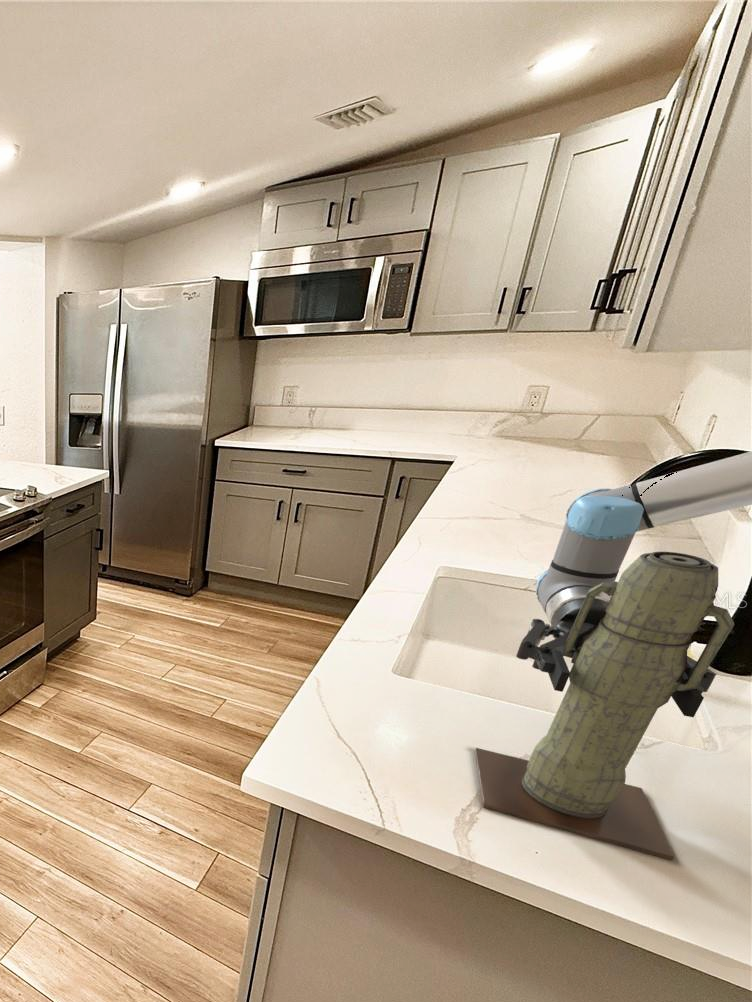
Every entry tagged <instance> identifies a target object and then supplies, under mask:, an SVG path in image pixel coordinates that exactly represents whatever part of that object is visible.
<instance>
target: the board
mask: <svg viewBox="0 0 752 1002" xmlns="http://www.w3.org/2000/svg"><path fill="white" fill-rule="evenodd" d="M474 756H475V763H476V769H477V775H478V776H477V777H478V782H479V789H480V795H481V803H482V807H483V808H486V809H489V810H493V811H496V812H500V813H503V814H506V815H510V816H513V817H518V818H521V819H523V820H524V819H525V820H527V821H532V822H535V823H539V824H541V825H542V824H543V825H546V826H549V827H552V828H557V829H559V830H564V831H567V832H571V833H574V834H578V835H581V836H585V837H587V838H592V839H595V840H598V841H603V842H605V843H606V842H607V843H609V844H612V845H616V846H620V847H624V848H627V849H631V850H635V851H638V852H642V853H645V854H649V855H652V856H656V857H659V858H663V859H666V860H669V861H673V860H674V859H675V855H674V853H673V851H672V849H671V846H670V844H669V842H668V841H667V837H666V836H665V834H664V831H663V830H662V828H661V826H660V823H659V821H658V819H657V817H656V815H655V813H654V810H653V808H652V806H651V805H650V802H649V800H648V799H647V797H646V796H647V795H646V794H645V792H644V790H643V788H642V787H639V786H635V785H631V784H628V783H627V784H626V783H624V785H623V787H622V789H621V791H620V793H619V794H618V796H617V798H616V799H615V800H614V801H612V802H611V803H610V805H609V807H608V811H607V813H606V814H605V815H603V816H602V817H598V818H580V817H576V816H572V815H568V814H564V813H562V812H559V811H557V810H554V809H552V808H550V807H548V806H546V805H544V804H542V803H540V802H539V801H537V800H536V799H534V798H533V797H532V796H530V795H529V794H528V792H527V791H526V790H525V789H524V788H523V785H522V783H521V782H522V779H523V776H524V774H526V772H527V764H528V762H529V760H528V759H524V758H520V757H517V756H511V755H508V754H503V753H498V752H495V751H491V750H487V749H483V748H479V747H475V748H474Z"/></svg>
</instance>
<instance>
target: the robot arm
mask: <svg viewBox="0 0 752 1002" xmlns="http://www.w3.org/2000/svg"><path fill="white" fill-rule="evenodd" d="M676 472H677V473H676ZM673 473H674V474H672V475H670V476H668V477H665V476H666V475H668V474H669V473H667V474H664V475H661V476H657V477H654V478H650V479H645V480H643V481H639V482H635V483H632V484H633V485H632V484H628V485H624V486H620V487H616V488H597V489H592V490H589V491H586V492H585V493H582V494H581V495H579V496H578V497H577V498H576V499H575V500H573V502H572V503H571V504H570V505H569V507H568V509H567V512H566V517H565V518H566V519H565V522H564V524H563V525H564V526H563V528H562V533H561V535H560V538H559V541H558V544H557V547H556V549H555V552H554V555H553V558H552V560H551V563H550V564H549V567H548V569H547V570H546V571H544V572H543V573H542V574H541V575H540V576H539V577H538V579H537V581H536V586H535V590H536V591H535V594H536V596H537V600H538V603H539V604H540V605H541V608H542V609H543V612H544V614H545V616H546V617H547V620H548V622H549V623H545V621H544V620H542V619H540V618H532V621H531V623H530V626H529V629H528V630H527V634H525V636H524V637H523V638H522V639H521V642H520V644H519V647H518V649H517V653H516V655H515V657H516V658H518V659H519V660H525V661H527V660H528V659H532V660H533V662H532V667H531V668H533V669H535V670H538V671H540V672H543V673H547V674H548V677H549V679H550V682H551V685H552V687H553V690H554V691H556V692H564V689H565V687H566V685H567V683H568V681H569V675H570V669H569V667H568V665H567V662H566V660H565V658H564V657H565V656H563V655H562V654H563V650H564V647H565V644H566V642H567V639H568V636H569V634H570V632H571V629H572V627H573V625H574V623H575V620H576V618H577V616H578V613H579V611H580V609H581V607H582V604H583V602H584V600H585V598H586V595H587V593H588V591H589V589H591V588H593V587H595V586H597V585H599V584H601V583H603V582H607V583H613V584H614V582H616V579H617V578H618V574H619V572H620V568H621V566H622V564H623V562H624V560H625V558H626V556H627V553H628V551H629V549H630V547H631V544H632V542H633V540H634V537H635V535H636V533H637V532H641V531H645V530H649V529H654V528H656V527H661V526H667V525H670V524H673V523H678V522H683V521H687V520H691V519H696V518H701V517H704V516H709V515H714V514H717V513H721V512H722V513H723V512H727V511H730V510H731V511H732V510H735V509H739V508H743V507H748V506H752V450H751V451H747V452H743V453H741V454H737V455H733V456H730V457H725V458H722V459H718V460H714V461H711V462H708V463H703V464H700V465H697V466H692V467H689V468H686V469H681V470H678V471H675V472H673ZM664 477H665V478H664ZM660 479H662V480H660ZM655 482H657V483H656V484H653V483H655ZM652 484H653V486H651V485H652ZM631 485H632V486H631ZM650 486H651V487H650ZM629 487H630V488H629ZM648 487H649V489H647V488H648ZM646 489H647V490H646ZM645 490H646V491H645ZM644 491H645V492H644ZM643 492H644V493H643ZM641 494H642V496H640V495H641ZM622 495H623V496H622ZM636 500H637V501H636ZM611 597H612V596H609V595H608V593H606V592H601V593H599V594H598V595H596V596H595V598H594V600H593V603H592V605H591V607H590V609H589V612H588V614H587V616H586V618H585V621H584V623H583V625H582V627H581V630H580V632H579V634H578V636H577V639H576V641H575V643H574V645H573V648H572V649H575V650H576V649H577V648H579V647H581V646H582V644H583V642H584V639H585V638H586V637H587V636H588V635H589V634H590V633H591V632H593V631H594V630H595V629H596V628H597V627H598V625H599V623H600V620H601V619H603V618H604V617H605V615H606V612H605V611H606V607H607V605H608V603H609V601H610V599H611ZM549 636H552V637H553V638H554V639H552V640H550V641H547V642H545V643H543V644H540V643H541V642H542V641H545V640H546V638H549ZM697 661H698V660H695V659H694V658H692V657H691V656H688V655H687V668H686V670H685V672H684V674H683V679H688V677H689V675H690V674H691V672H692V670H693V668H694V666H695V665H696V663H697ZM716 676H717V673H715V672H714V671H712V670H711V669H709V668H708V669H707V670H706V672H705V674H704V676H703V678H702V680H701V682H700V683H699V685H698V687H697V688H696V689H690V690H685V691H675V692H673V694H672V696H671V697H670V698H671V699H673V702H674V703H675V704H676V706H677V707H678V709H679V711H680V712H681V714H682V716H684V717H689V718H694V717H695V716H696V713H697V712H698V710H699V708H700V707H701V704H702V703H703V701H704V699H705V697H704V696H703V693H707V692H708V691H709V689H710V687H711V685H712V684H713V681H714V679H715V678H716Z"/></svg>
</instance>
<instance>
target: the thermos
mask: <svg viewBox="0 0 752 1002" xmlns="http://www.w3.org/2000/svg"><path fill="white" fill-rule="evenodd" d="M718 587H719V567H718V566H717V565H715V564H714V563H711V562H710V561H709V559H708V560H707V559H705V558H703V557H700V556H696V555H692V554H687V553H681V552H676V551H675V552H674V551H653V552H647V553H643V554H640V555H639V556H638V557H637V558H636V559H635V560H634V561H633V562H632V563H631V564H629V566H628V567H627V568H626V569H624V570H623V572H622V573H621V575H620V577H619V579H618V581H615V582H614V584H613V583H607V582H603V583H601V584H599V585H597V586H595V587H593V588H591V589H589V591H588V593H587V595H586V598H585V600H584V602H583V604H582V607H581V609H580V611H579V613H578V616H577V618H576V620H575V623H574V625H573V627H572V629H571V632H570V634H569V636H568V639H567V642H566V644H565V647H564V650H563V654H562V655H563V657H566V658H570V659H571V661H570V663H571V664H573V665H572V666H571V669H569V671H570V675H569V678H568V681H569V685H568V687H567V689H566V692H565V693H564V696H563V698H562V700H561V702H560V705H559V707H558V709H557V711H556V714H555V715H554V718H553V720H552V722H551V724H550V727H549V729H548V731H547V732H546V735H544V736H543V737H542V738H541V740H540V741H539V742H538V743H537V744H536V745H535V746H534V749H533V751H532V753H531V755H530V757H529V760H528V761H529V762H528V764H527V772H526V774H524V776H523V779H522V782H521V783H522V785H523V788H524V789H525V790H526V791H527V792H528V794H529V795H530V796H532V797H533V798H534V799H536V800H537V801H539V802H540V803H542V804H544V805H546V806H548V807H550V808H552V809H554V810H557V811H559V812H562V813H564V814H568V815H572V816H576V817H580V818H598V817H602V816H603V815H605V814H606V813H607V811H608V807H609V805H610V803H611V802H612V801H614V800H615V799H616V798H617V796H618V794H619V793H620V791H621V789H622V787H623V785H624V784H626V778H627V775H626V774H627V772H626V768H627V767H628V764H629V763H630V761H631V759H632V757H633V756H634V754H635V751H636V750H637V748H638V746H639V744H640V742H641V740H642V739H643V737H644V735H645V733H646V732H647V730H648V728H649V726H650V724H651V722H652V720H653V718H654V716H655V715H656V713H657V711H658V709H659V708H661V707H662V706H665V705H666V704H667V703H669V702H670V700H671V698H672V697H671V696H672V694H673V692H675V691H685V690H690V689H696V688H697V687H698V685H699V683H700V682H701V680H702V678H703V676H704V674H705V672H706V670H707V669H709V667H710V665H711V664H712V661H713V660H714V658H715V657H716V656H717V654H718V652H719V651H720V649H721V647H722V645H723V644H724V642H725V641H726V640H727V638H728V636H729V634H730V633H731V631H732V630H733V628H734V626H735V622H734V620H733V618H732V616H731V614H730V612H729V610H728V609H727V608H724V607H720V606H717V605H715V603H714V601H715V600H716V597H717V596H716V594H717V592H718ZM601 592H606V593H608V595H609V596H611V599H610V601H609V603H608V605H607V607H606V611H605V612H606V615H605V617H604V618H603V619H601V620H600V623H599V625H598V627H597V628H596V629H595V630H594V631H593V632H591V633H590V634H589V635H588V636H587V637H586V638H585V639H584V642H583V644H582V646H581V647H579V648H577V649H576V650H575V649H572V648H573V645H574V643H575V641H576V639H577V636H578V634H579V632H580V630H581V627H582V625H583V623H584V621H585V618H586V616H587V614H588V612H589V609H590V607H591V605H592V603H593V600H594V598H595V596H596V595H598V594H599V593H601ZM706 617H714V619H715V621H716V627H715V628H714V631H713V632H712V633H711V636H710V638H709V639H708V641H707V643H706V645H705V646H704V649H703V650H702V652H701V654H700V656H698V657H699V658H698V659H697V660H696V661H697V663H696V665H695V666H694V668H693V670H692V672H691V674H690V675H689V677H688V679H683V674H684V672H685V670H686V668H687V656H688V650H689V648H690V646H691V644H692V637H693V635H694V634H695V633H697V632H698V631H699V629H700V628H701V626H702V624H703V622H704V620H705V618H706Z"/></svg>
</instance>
